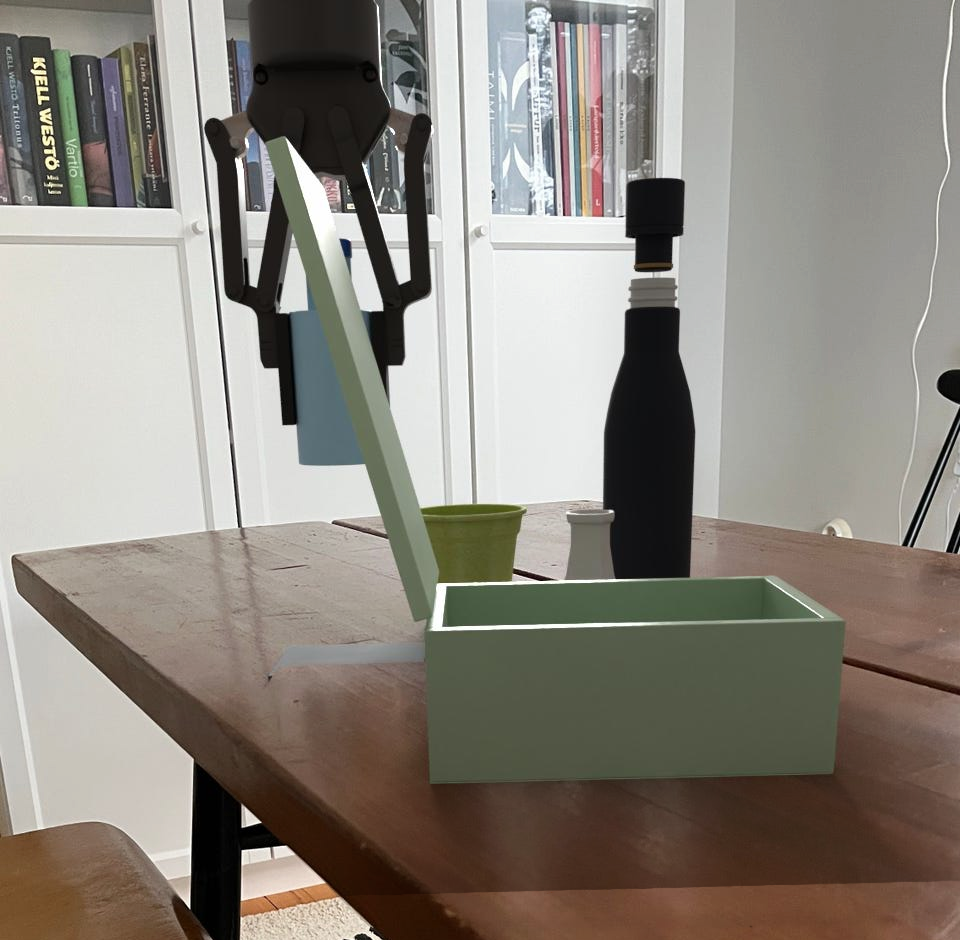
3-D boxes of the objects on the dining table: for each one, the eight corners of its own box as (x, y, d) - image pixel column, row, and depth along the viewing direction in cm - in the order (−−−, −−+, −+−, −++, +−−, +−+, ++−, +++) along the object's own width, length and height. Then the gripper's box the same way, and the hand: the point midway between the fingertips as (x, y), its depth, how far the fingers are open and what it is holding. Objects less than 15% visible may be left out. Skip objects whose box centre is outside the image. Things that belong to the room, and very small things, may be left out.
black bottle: (583, 635, 94) (586, 184, 83) (640, 624, 98) (650, 191, 87) (648, 647, 89) (660, 171, 79) (705, 634, 93) (724, 179, 83)
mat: (427, 648, 91) (427, 642, 91) (423, 679, 81) (422, 672, 81) (289, 652, 91) (288, 645, 91) (268, 683, 81) (267, 676, 81)
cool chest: (767, 715, 71) (775, 575, 68) (832, 789, 58) (846, 620, 55) (437, 723, 71) (432, 583, 68) (430, 799, 58) (423, 630, 56)
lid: (323, 185, 61) (306, 191, 62) (284, 135, 49) (264, 142, 49) (439, 572, 68) (424, 577, 68) (432, 617, 55) (414, 622, 55)
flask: (554, 652, 89) (554, 505, 85) (655, 657, 86) (659, 506, 83) (519, 674, 82) (518, 516, 79) (627, 680, 80) (630, 518, 76)
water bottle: (382, 459, 84) (372, 243, 79) (377, 464, 79) (366, 235, 74) (304, 461, 84) (289, 245, 79) (294, 466, 79) (278, 236, 74)
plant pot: (409, 633, 97) (405, 516, 94) (412, 611, 105) (407, 504, 102) (531, 629, 97) (530, 513, 94) (523, 608, 106) (522, 501, 103)
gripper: (137, -19, 69) (182, 429, 77) (471, -27, 69) (480, 422, 77) (168, 17, 76) (206, 424, 84) (471, 10, 76) (479, 418, 84)
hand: (337, 422), depth 81 cm, fingers closed on water bottle, 5 cm apart
